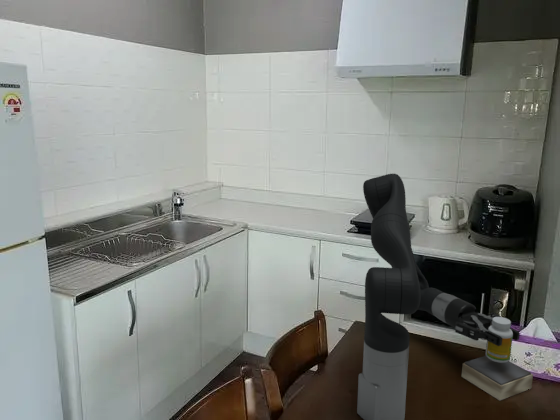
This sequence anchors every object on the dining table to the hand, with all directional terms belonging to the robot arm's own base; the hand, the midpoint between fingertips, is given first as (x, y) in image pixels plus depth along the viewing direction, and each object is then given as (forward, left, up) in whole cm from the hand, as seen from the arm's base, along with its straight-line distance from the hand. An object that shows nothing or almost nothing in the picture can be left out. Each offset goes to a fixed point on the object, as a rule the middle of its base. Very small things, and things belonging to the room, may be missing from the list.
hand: (509, 339), depth 106 cm
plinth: (0, +2, -12) cm, 13 cm away
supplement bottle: (0, +3, -6) cm, 7 cm away
